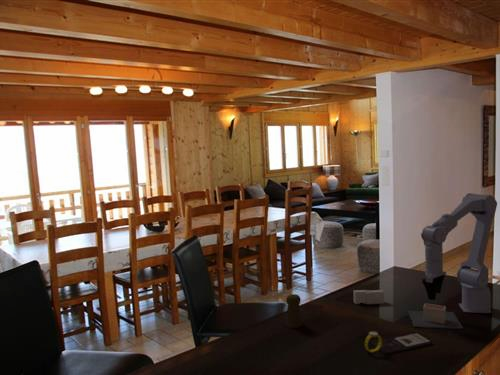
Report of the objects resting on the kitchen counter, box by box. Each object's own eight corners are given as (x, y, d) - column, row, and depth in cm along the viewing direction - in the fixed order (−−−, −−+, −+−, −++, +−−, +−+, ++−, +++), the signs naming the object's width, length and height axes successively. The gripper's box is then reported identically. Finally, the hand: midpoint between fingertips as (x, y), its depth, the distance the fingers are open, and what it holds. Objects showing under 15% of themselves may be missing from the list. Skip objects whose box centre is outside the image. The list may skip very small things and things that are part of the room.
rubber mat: (453, 313, 162) (453, 312, 162) (463, 329, 149) (463, 327, 149) (408, 312, 166) (408, 310, 166) (414, 327, 152) (414, 326, 152)
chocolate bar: (368, 341, 142) (414, 331, 148) (368, 344, 142) (414, 334, 148) (384, 353, 134) (433, 342, 139) (385, 356, 134) (433, 345, 139)
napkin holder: (390, 302, 178) (390, 288, 178) (380, 311, 169) (380, 297, 169) (355, 296, 187) (355, 283, 187) (344, 304, 178) (344, 290, 178)
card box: (425, 316, 160) (425, 303, 159) (446, 319, 156) (445, 306, 156) (423, 320, 156) (423, 306, 156) (444, 323, 153) (444, 309, 152)
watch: (377, 348, 139) (378, 330, 139) (383, 351, 137) (384, 333, 136) (362, 351, 137) (363, 332, 136) (368, 354, 134) (369, 336, 134)
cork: (304, 322, 162) (303, 293, 160) (299, 328, 156) (298, 299, 155) (289, 320, 164) (288, 291, 163) (283, 326, 159) (282, 297, 158)
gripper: (441, 265, 147) (441, 304, 149) (450, 255, 159) (450, 291, 160) (419, 263, 151) (420, 301, 153) (430, 253, 163) (430, 288, 164)
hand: (434, 296), depth 157 cm, fingers open, 7 cm apart
